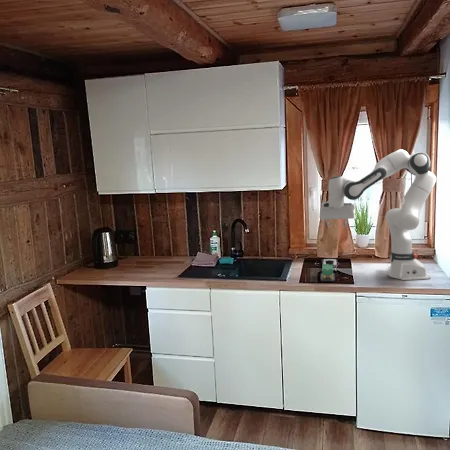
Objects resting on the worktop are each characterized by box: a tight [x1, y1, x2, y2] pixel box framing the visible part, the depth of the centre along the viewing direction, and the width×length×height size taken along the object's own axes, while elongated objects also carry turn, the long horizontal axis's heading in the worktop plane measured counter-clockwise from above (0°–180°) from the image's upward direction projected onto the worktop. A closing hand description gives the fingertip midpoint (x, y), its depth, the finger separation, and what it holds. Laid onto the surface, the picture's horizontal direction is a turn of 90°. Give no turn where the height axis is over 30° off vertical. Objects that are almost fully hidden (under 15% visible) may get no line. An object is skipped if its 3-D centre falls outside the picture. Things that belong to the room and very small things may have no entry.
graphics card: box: [321, 258, 338, 274], centre depth 296 cm, size 10×3×25 cm
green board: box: [321, 263, 334, 275], centre depth 273 cm, size 6×14×2 cm, turn 168°
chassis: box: [320, 272, 336, 282], centre depth 273 cm, size 8×13×5 cm, turn 168°
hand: (336, 226), depth 278 cm, fingers open, 8 cm apart
